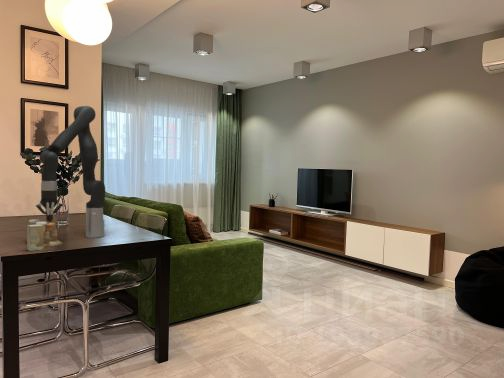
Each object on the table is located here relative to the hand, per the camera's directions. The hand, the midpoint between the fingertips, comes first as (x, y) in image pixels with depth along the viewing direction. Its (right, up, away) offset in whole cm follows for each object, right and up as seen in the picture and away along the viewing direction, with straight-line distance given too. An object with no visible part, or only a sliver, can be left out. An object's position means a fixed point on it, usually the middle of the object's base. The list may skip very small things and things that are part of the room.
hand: (49, 221), depth 199 cm
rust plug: (0, -8, 0) cm, 8 cm away
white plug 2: (-1, -7, -6) cm, 9 cm away
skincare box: (+1, -13, -15) cm, 20 cm away
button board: (-2, -11, -1) cm, 12 cm away
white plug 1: (-8, -6, 0) cm, 10 cm away
